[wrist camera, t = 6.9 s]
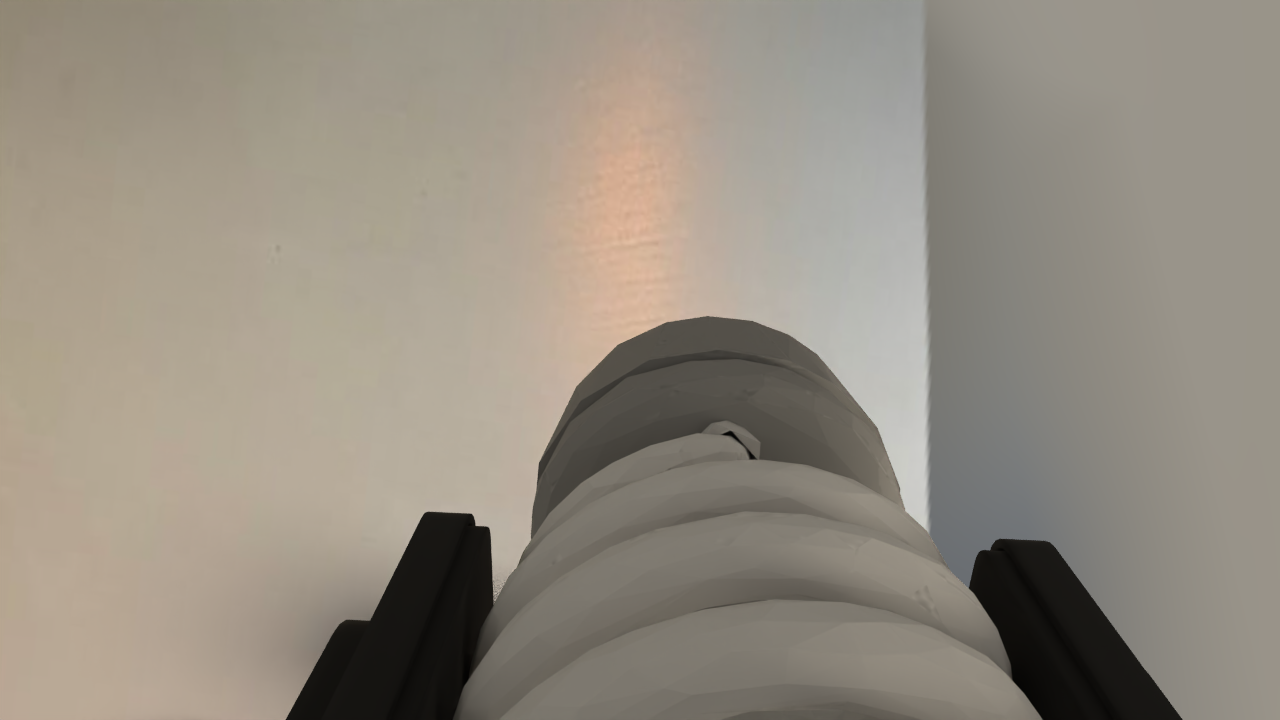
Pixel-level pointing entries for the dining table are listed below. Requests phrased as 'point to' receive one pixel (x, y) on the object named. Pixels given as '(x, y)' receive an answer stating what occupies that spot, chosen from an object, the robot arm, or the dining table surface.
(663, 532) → the light bulb
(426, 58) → the dining table surface
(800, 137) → the dining table surface
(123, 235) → the dining table surface
